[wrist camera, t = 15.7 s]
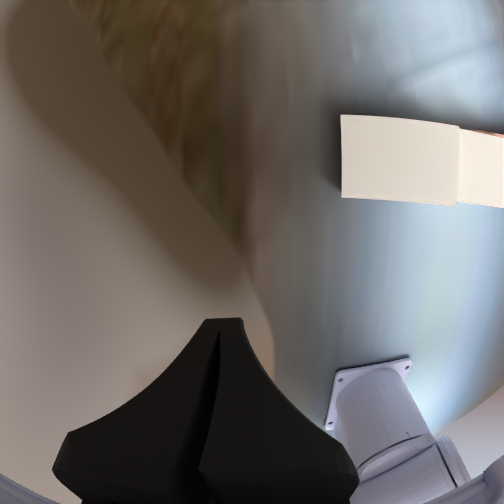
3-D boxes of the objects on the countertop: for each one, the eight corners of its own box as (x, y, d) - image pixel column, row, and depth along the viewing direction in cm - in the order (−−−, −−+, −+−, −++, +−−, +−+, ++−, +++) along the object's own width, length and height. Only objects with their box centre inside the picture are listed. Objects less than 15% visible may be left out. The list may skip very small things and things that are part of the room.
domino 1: (341, 117, 17) (449, 127, 14) (342, 192, 18) (447, 200, 16) (340, 114, 15) (458, 126, 13) (341, 197, 17) (455, 206, 15)
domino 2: (411, 123, 17) (497, 138, 14) (410, 192, 18) (493, 202, 16) (417, 122, 15) (507, 139, 13) (415, 197, 17) (503, 208, 15)
